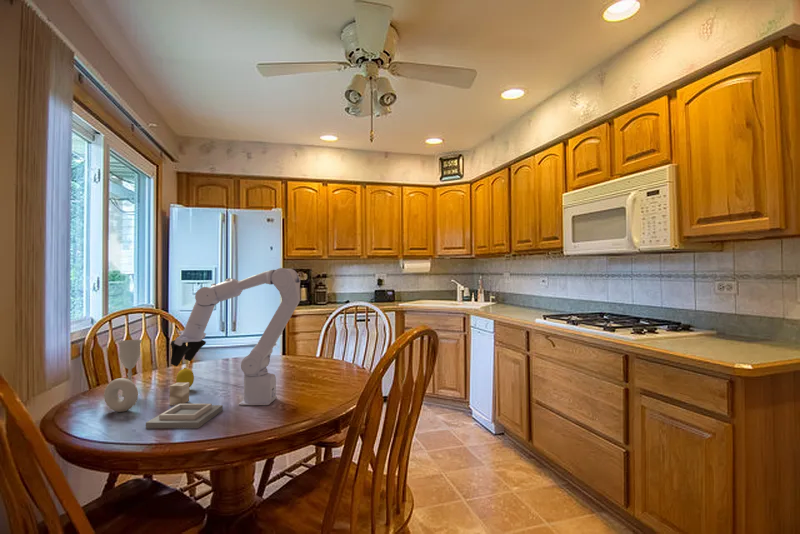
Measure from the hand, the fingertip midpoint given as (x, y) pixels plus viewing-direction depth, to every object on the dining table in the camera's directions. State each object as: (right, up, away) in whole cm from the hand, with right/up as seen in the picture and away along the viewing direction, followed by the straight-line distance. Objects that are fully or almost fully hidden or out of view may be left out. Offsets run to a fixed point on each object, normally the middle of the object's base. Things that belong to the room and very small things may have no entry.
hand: (181, 362), depth 127 cm
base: (+10, -12, -15) cm, 21 cm away
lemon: (-6, -13, +14) cm, 20 cm away
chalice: (-23, -13, +10) cm, 28 cm away
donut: (-13, -13, -8) cm, 20 cm away
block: (0, -13, -1) cm, 13 cm away
